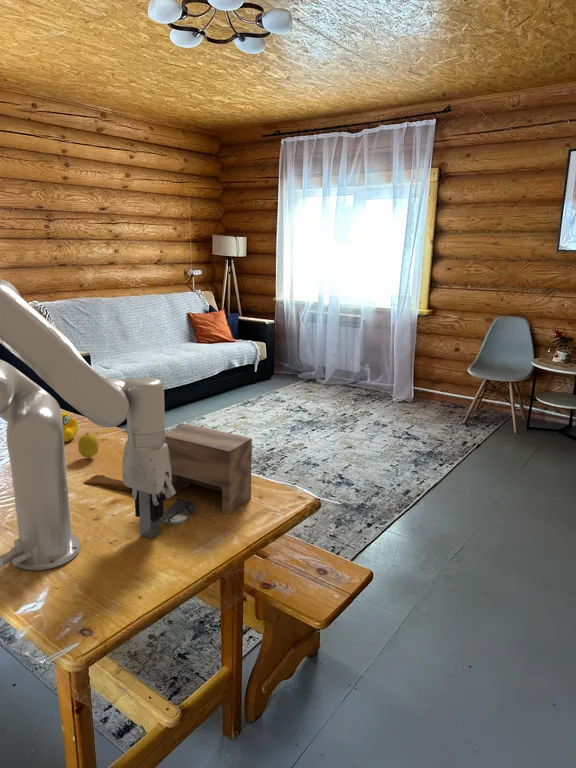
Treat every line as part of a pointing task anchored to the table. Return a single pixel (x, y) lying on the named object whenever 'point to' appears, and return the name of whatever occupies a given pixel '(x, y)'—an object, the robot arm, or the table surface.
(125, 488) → the primitive tool
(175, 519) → the steel token
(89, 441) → the lemon
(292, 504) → the table surface
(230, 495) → the wooden bridge block
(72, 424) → the duckling
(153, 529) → the hoe
